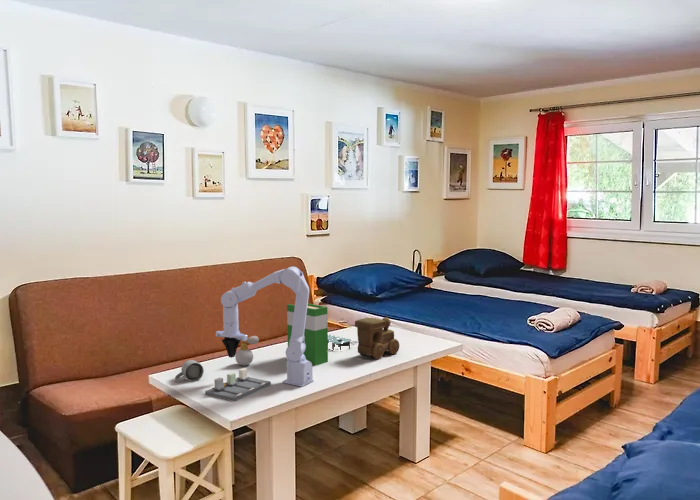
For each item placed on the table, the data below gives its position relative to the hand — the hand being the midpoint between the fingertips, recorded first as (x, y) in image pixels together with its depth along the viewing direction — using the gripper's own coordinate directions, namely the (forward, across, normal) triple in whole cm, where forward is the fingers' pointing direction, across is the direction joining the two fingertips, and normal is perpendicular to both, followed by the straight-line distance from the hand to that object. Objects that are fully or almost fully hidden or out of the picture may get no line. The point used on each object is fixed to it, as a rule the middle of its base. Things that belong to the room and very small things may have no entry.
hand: (231, 356), depth 214 cm
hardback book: (+10, -10, -37) cm, 39 cm away
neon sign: (+10, -8, -70) cm, 71 cm away
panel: (+9, -9, +6) cm, 15 cm away
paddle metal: (+8, -5, +13) cm, 16 cm away
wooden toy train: (+10, -32, -59) cm, 68 cm away
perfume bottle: (+10, +10, -19) cm, 23 cm away
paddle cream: (+8, -6, 0) cm, 10 cm away
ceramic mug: (+10, +16, +7) cm, 20 cm away
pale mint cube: (+8, -6, +6) cm, 12 cm away
